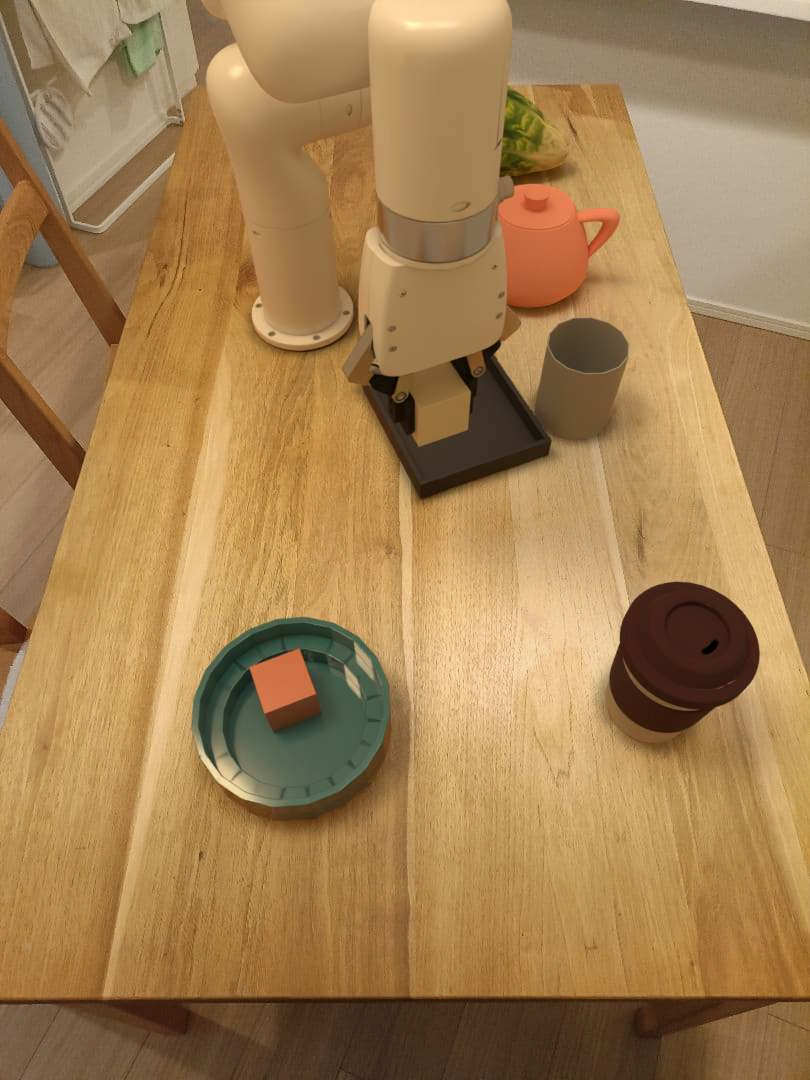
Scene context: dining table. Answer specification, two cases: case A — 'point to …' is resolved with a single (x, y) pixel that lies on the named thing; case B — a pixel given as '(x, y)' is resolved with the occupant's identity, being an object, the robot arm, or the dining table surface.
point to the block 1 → (285, 690)
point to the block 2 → (439, 403)
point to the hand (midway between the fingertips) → (432, 411)
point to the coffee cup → (678, 660)
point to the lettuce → (529, 139)
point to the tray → (470, 437)
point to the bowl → (304, 747)
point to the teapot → (548, 243)
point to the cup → (580, 377)
